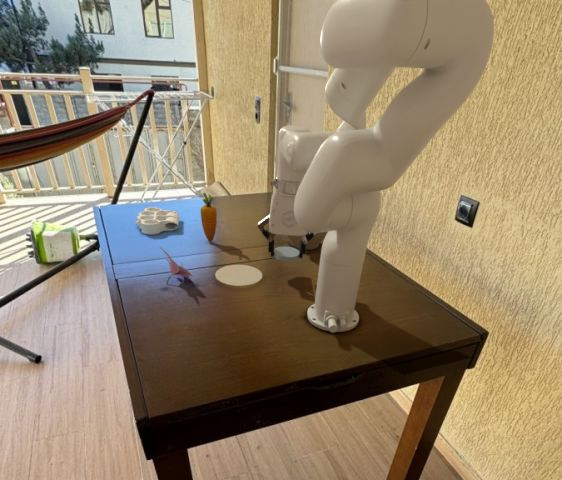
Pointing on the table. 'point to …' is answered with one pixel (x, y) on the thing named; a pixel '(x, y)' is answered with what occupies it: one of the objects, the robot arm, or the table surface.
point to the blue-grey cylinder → (286, 253)
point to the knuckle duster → (157, 220)
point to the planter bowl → (311, 243)
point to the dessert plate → (238, 275)
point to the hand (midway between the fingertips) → (286, 255)
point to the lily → (177, 269)
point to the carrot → (208, 218)
